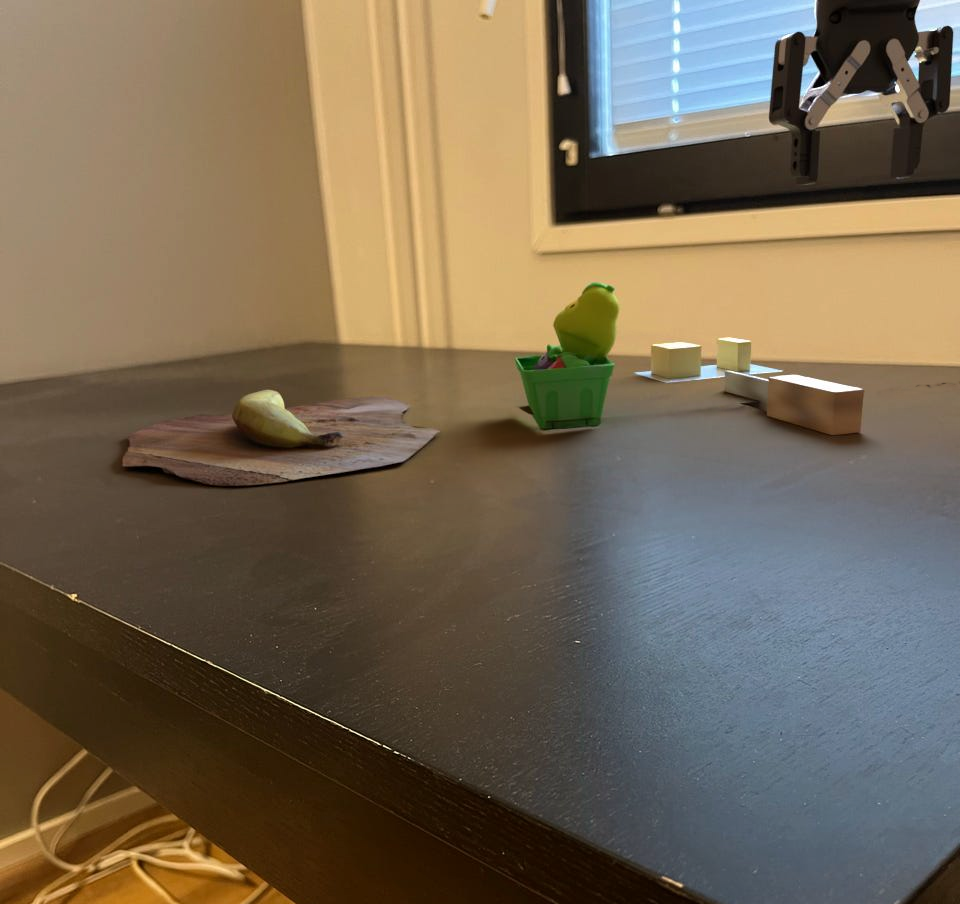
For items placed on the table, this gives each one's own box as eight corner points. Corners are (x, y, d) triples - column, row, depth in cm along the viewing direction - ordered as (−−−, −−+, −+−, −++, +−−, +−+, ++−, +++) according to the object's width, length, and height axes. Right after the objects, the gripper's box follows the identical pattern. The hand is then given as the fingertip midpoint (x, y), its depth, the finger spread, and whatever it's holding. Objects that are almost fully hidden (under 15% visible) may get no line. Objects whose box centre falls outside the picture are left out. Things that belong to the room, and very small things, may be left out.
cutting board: (129, 427, 99) (122, 388, 97) (395, 399, 105) (392, 362, 104) (110, 504, 67) (98, 448, 66) (490, 457, 74) (487, 405, 72)
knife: (860, 432, 74) (864, 389, 73) (831, 435, 74) (835, 392, 73) (737, 397, 92) (738, 362, 91) (713, 400, 92) (714, 364, 91)
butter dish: (742, 369, 110) (742, 362, 110) (783, 378, 102) (783, 370, 101) (633, 380, 107) (632, 372, 107) (665, 390, 99) (665, 382, 99)
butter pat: (728, 365, 107) (729, 337, 106) (750, 370, 103) (751, 341, 102) (716, 367, 107) (716, 338, 106) (737, 372, 103) (738, 342, 101)
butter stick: (681, 370, 106) (681, 341, 105) (701, 375, 102) (701, 345, 101) (650, 373, 106) (650, 344, 104) (669, 378, 101) (669, 348, 100)
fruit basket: (515, 412, 92) (510, 285, 88) (609, 405, 93) (608, 278, 88) (525, 433, 82) (519, 290, 78) (631, 426, 82) (631, 283, 78)
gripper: (810, -72, 68) (797, 184, 75) (990, -76, 71) (963, 172, 77) (758, -44, 75) (751, 189, 81) (924, -48, 78) (904, 178, 84)
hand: (854, 181), depth 79 cm, fingers open, 8 cm apart
